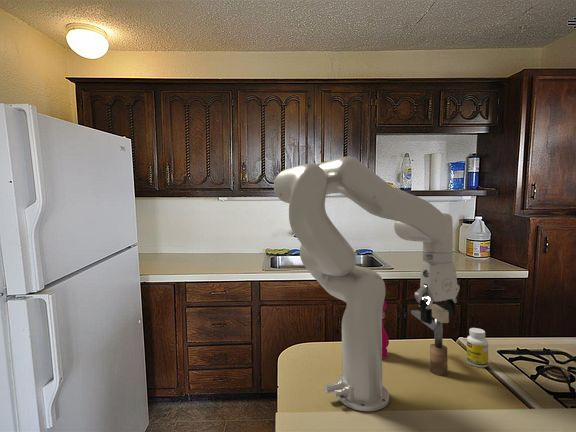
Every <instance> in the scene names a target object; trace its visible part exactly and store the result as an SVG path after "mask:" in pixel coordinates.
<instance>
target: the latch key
mask: <svg viewBox="0 0 576 432" xmlns="http://www.w3.org/2000/svg"><path fill="white" fill-rule="evenodd" d="M430 309H432V323H431V324H428V323H425V322H423V321H421V310H418V309H417V310H414V309H413V310H412V309H411V310H410V314H411V315H412V316H413V317H414V318H417V319H418V320H419V321H421V323H422V324H424V325H425V326H427V327H428V328H429V329H431V330H432V331H434V344H435V346H436V347H443V345H444V343H443V330H444V329H443V324H448V323H449V322H450V318H449V317H450V316H449V312H448V311H447V310H445V309H444V307H441V306H440V305H438V304H437V303H432V305H431V307H430ZM433 319H434V320H433Z"/></svg>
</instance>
